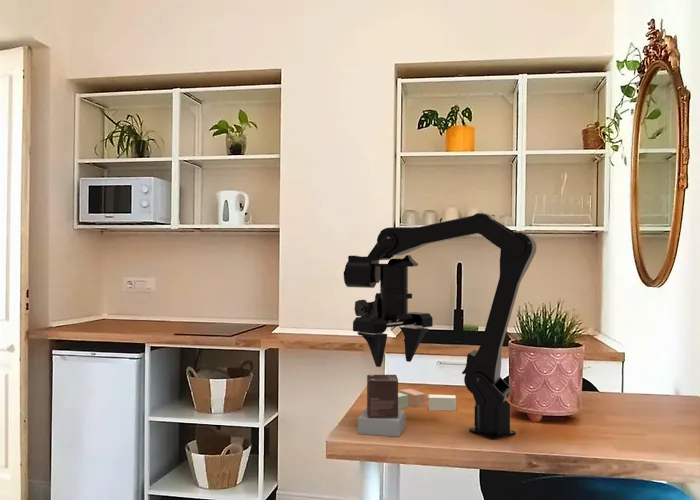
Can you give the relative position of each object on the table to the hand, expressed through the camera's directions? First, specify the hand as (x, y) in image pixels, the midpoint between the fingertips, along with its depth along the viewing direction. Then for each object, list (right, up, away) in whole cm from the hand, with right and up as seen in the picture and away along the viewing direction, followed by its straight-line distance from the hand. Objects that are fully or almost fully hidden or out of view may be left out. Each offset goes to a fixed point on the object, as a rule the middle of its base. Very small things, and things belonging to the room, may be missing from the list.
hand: (393, 364), depth 130 cm
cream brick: (+12, -12, +11) cm, 20 cm away
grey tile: (-3, -12, -6) cm, 13 cm away
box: (-3, -9, -6) cm, 11 cm away
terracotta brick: (+5, -12, +16) cm, 21 cm away
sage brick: (+1, -12, +12) cm, 17 cm away
